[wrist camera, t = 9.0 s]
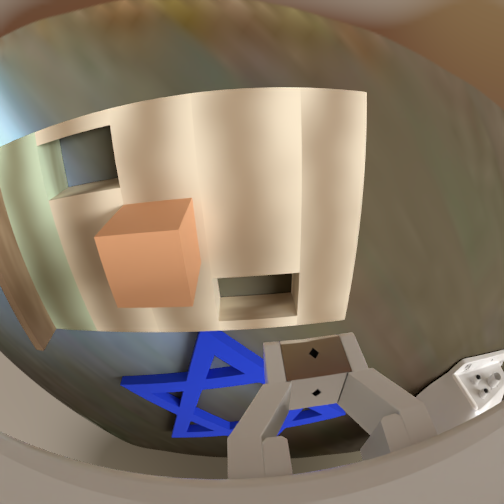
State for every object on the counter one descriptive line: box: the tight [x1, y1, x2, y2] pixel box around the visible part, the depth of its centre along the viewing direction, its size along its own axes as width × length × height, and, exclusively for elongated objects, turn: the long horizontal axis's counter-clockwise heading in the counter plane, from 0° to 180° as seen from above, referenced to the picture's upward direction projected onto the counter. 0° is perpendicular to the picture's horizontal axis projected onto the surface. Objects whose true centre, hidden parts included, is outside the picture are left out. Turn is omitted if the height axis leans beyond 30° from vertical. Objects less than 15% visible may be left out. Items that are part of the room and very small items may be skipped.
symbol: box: [120, 331, 346, 438], centre depth 32 cm, size 26×2×30 cm
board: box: [0, 87, 367, 351], centre depth 18 cm, size 27×17×6 cm, turn 93°
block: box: [94, 198, 201, 308], centre depth 16 cm, size 4×4×4 cm
